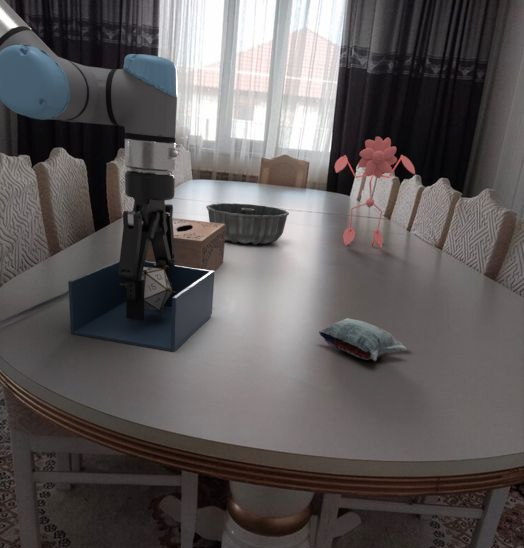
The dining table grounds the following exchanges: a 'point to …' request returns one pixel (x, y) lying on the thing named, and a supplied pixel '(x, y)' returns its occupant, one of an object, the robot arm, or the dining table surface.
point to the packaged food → (361, 339)
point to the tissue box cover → (196, 244)
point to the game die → (155, 288)
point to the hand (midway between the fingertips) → (148, 309)
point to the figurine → (376, 162)
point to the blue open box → (155, 327)
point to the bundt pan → (249, 222)
